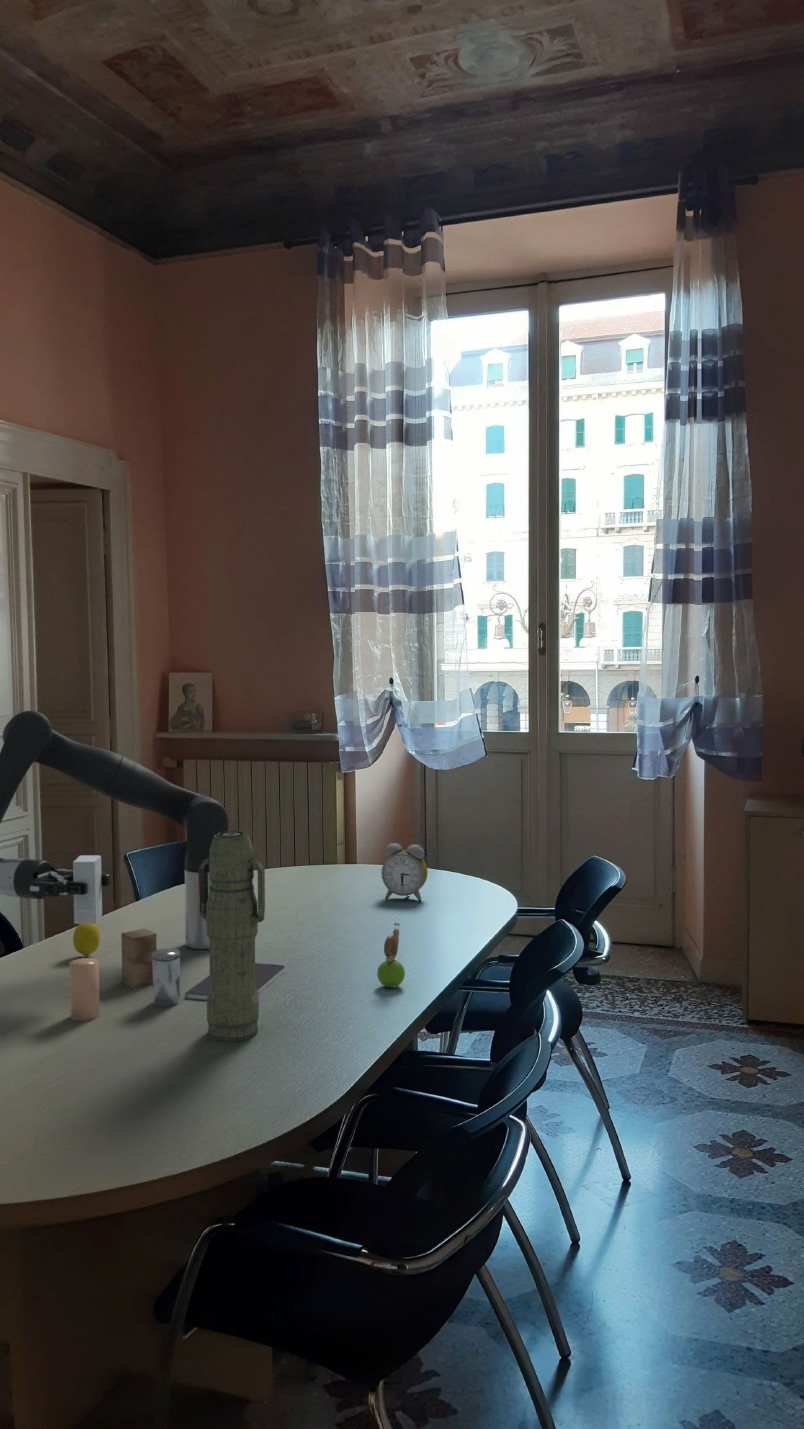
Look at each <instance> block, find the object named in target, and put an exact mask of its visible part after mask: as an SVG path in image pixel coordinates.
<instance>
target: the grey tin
mask: <svg viewBox="0 0 804 1429" xmlns="http://www.w3.org/2000/svg"><path fill="white" fill-rule="evenodd" d="M180 958H181V951H180V950H179V949H177V948H176V949H175V948H160V949H157V950H156V951H153V952H152V962H153V984H152V1004H153V1006H155V1007H159V1008H167V1007H174V1006H177V1005H179V1004H180V1003H181V971H180V970H181V966H180V964H181V961H180Z"/></svg>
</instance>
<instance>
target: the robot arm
mask: <svg viewBox="0 0 804 1429" xmlns="http://www.w3.org/2000/svg"><path fill="white" fill-rule="evenodd" d="M2 740H3V744H2V747H1V750H0V824H1V823H2V821H3V819H4V817H5V815H6V813H7V810H8V809H9V807H10V805H11V802H12V801H13V799H14V796H15V794H16V793H17V790H18V789H19V787H20V785H21V783H22V781H23V779H24V778H25V777H26V776H25V775H26V774H27V773H28V771H29V770H30V768H31V767H32V765H33V763H36V764H38V765H39V764H40V765H42V766H46V767H48V768H51V769H53V770H55V771H58V772H60V773H62V774H64V775H66V776H68V777H69V778H71V779H73V780H75V781H77V782H79V783H80V784H82V785H84V786H86V787H87V788H91V789H92V790H94V791H96V792H97V793H100V794H102V795H104V796H107V797H108V798H111V799H113V800H115V801H117V802H120V803H122V804H125V805H128V806H131V807H136V808H138V809H143V810H147V811H150V812H153V813H156V814H159V815H160V816H163V817H164V818H166V819H168V820H171V822H174V823H175V824H177V825H178V826H181V827H182V828H183V829H185V830H186V852H185V853H186V855H185V857H184V913H185V915H184V917H185V918H184V920H185V922H184V923H185V931H184V932H185V935H184V936H185V946H186V947H188V948H189V949H195V950H209V938H208V936H207V929H206V921H205V919H204V918H203V917H202V916H201V915H200V896H199V872H198V868H199V866H200V865H201V863H202V862H203V861H204V860H207V859H209V851H210V847H211V844H212V841H213V837H214V836H215V835H217V834H218V833H220V832H226V831H230V830H229V828H230V827H229V825H230V824H229V816H228V813H227V810H226V808H225V807H224V805H223V804H222V803H220V802H219V801H217V800H216V799H214V798H213V797H210V796H207V795H203V794H200V793H198V792H194V791H192V790H188V789H186V788H183V787H180V786H178V785H175V784H173V783H172V782H170V781H168V780H166V779H165V778H163V777H162V776H161V775H158V774H157V773H156V772H154V771H153V770H150V769H149V768H148V767H146V766H143V765H141V764H140V763H138V762H136V761H134V760H132V759H130V758H128V757H126V756H124V755H121V754H118V753H116V752H114V751H111V750H108V749H105V748H103V747H102V748H101V747H97V746H93V745H89V744H85V743H81V742H78V741H75V740H74V739H71V738H68V737H67V736H64V735H63V734H61V733H59V732H58V731H56V730H54V729H53V728H52V724H51V722H50V720H49V719H48V717H47V716H46V715H45V714H43V713H41V712H38V711H36V710H25V711H21V712H18V713H17V714H16V715H13V717H11V719H9V721H8V722H7V724H6V725H5V726H4V728H3V731H2ZM110 880H111V875H110V874H107V873H101V881H102V887H108V886H109V885H111V883H110ZM210 886H211V880H210V871H209V866H208V897H209V894H210ZM74 894H78V895H85V894H87V883H84V882H73V866H72V867H69V869H66V868H58V869H56V870H55V867H54V866H53V865H52V863H51V862H50V861H48V860H44V859H32V858H18V857H15V858H3V857H2V858H0V895H1V896H7V897H11V898H20V899H21V898H22V899H30V900H31V899H33V900H43V899H45V898H47V897H53V898H58V897H60V896H61V895H62V896H67V895H74Z"/></svg>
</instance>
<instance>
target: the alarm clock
mask: <svg viewBox="0 0 804 1429" xmlns="http://www.w3.org/2000/svg"><path fill="white" fill-rule="evenodd" d="M405 847H406V848H405V849H403V846H401V844H399V843H397V842H394V843H393V842H392V843H391V842H390V843H388V845H387V846H386V847H385V849H384V854H385V857H387V858H386V859H385V861H384V862H383V864H382V868H381V879H382V882H383V885H384V886H385V887H386V889H387V891H386V894H385V897H384V899H385V900H388V899H389V898H390V897H391V896H392V894H394V895H396V896H401V897H408V895H410V896H412V895H414V896H415V898H416V899H417V900H418V899H419V900H420V899H422V897H421V893H420V891H419V890H420V889H421V888H422V887H424V885H425V883H426V881H427V878H428V867H427V864H426V862H425V859H424V858H425V850H424V848H423V847H422V846H421V844H411V845H409V846H408V845H406V846H405ZM419 900H418V901H419Z"/></svg>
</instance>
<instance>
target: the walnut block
mask: <svg viewBox="0 0 804 1429" xmlns="http://www.w3.org/2000/svg"><path fill="white" fill-rule="evenodd" d="M120 937H121V983H123V984H125V985H127V986H128V987H131V988H133V989H137V988H141V987H142V988H143V987H145V986H149V985H153V962H152V952H153V951H156V950H158V949H157V933H155V932H153V931H151V930H149V929H147V928H141V929H140V928H139V929H134V930H130V931H126V932H122V933H121V936H120Z"/></svg>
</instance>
